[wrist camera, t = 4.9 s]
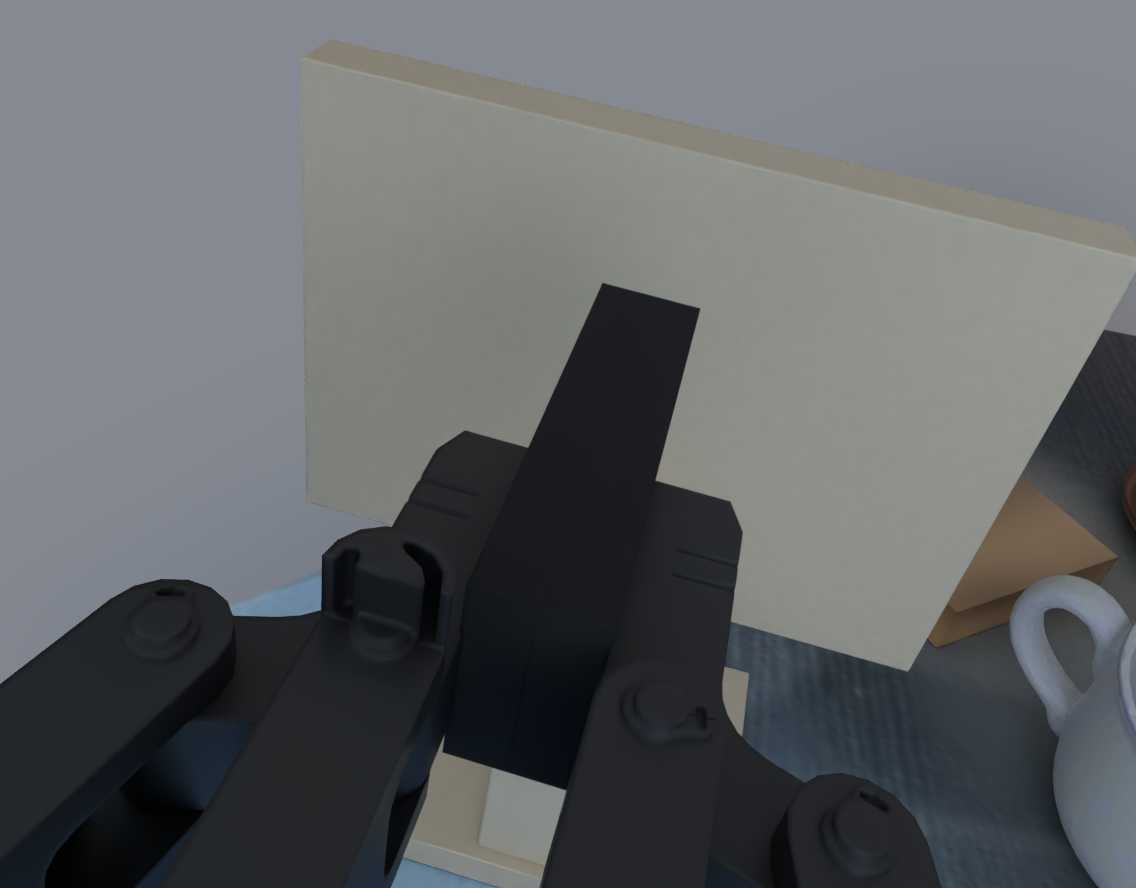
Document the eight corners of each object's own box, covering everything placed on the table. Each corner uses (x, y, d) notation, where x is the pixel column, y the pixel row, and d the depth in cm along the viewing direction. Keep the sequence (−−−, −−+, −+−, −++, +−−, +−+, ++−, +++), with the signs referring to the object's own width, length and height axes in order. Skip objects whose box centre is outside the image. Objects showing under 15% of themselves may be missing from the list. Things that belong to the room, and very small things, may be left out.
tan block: (1095, 591, 45) (1139, 527, 42) (935, 648, 40) (975, 580, 38) (916, 432, 53) (945, 370, 50) (767, 466, 48) (790, 400, 46)
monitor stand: (710, 954, 29) (807, 770, 23) (329, 835, 30) (330, 630, 24) (741, 692, 37) (819, 506, 31) (437, 605, 38) (457, 409, 32)
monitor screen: (916, 808, 24) (1207, 374, 16) (232, 607, 26) (191, 122, 18) (906, 627, 29) (1126, 224, 21) (330, 467, 31) (333, 36, 23)
